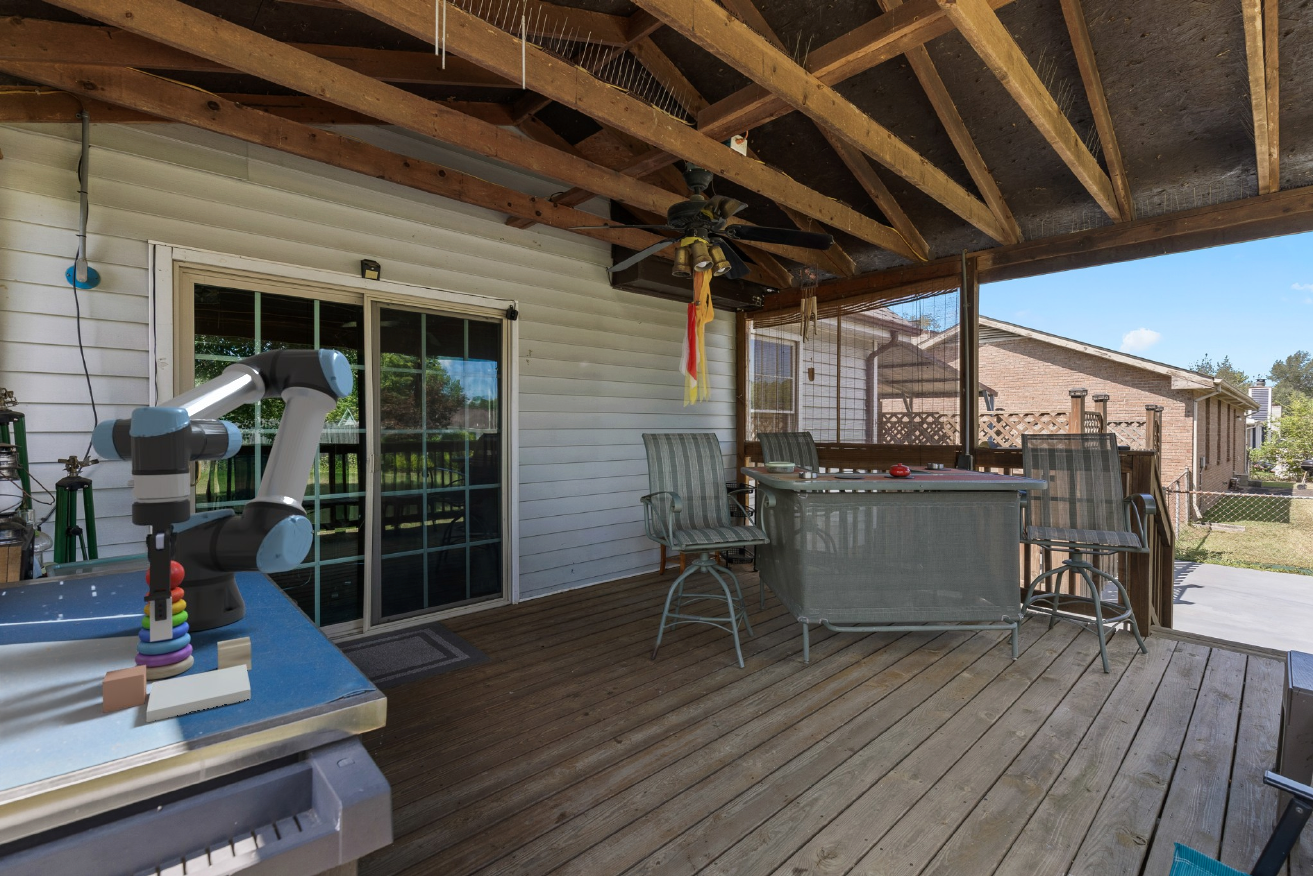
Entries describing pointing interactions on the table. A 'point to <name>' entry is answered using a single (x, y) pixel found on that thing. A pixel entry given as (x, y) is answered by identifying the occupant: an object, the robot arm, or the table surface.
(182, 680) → the white square slab
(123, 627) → the table surface
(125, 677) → the terracotta block
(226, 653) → the birch block
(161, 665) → the stacking toy
